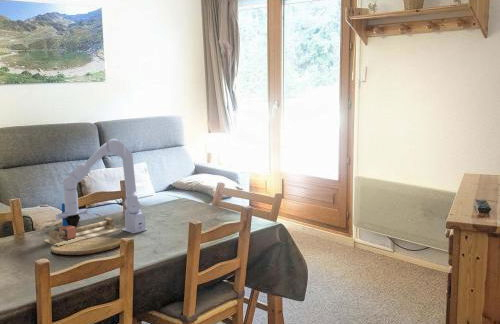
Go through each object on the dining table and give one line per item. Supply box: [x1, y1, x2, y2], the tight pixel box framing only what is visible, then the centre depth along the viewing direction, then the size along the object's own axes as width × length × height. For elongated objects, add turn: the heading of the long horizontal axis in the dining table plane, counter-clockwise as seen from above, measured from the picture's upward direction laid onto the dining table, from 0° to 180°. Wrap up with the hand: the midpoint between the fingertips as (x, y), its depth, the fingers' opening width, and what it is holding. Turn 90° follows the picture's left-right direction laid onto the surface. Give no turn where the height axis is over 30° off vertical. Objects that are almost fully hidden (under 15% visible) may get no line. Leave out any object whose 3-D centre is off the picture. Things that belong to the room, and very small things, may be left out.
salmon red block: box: [59, 225, 77, 239], centre depth 219 cm, size 4×7×5 cm, turn 50°
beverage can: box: [61, 201, 69, 227], centre depth 239 cm, size 6×6×12 cm
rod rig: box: [43, 216, 120, 245], centre depth 224 cm, size 30×12×5 cm, turn 140°
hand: (73, 231), depth 223 cm, fingers closed
